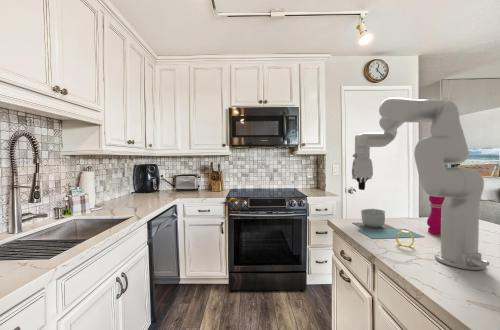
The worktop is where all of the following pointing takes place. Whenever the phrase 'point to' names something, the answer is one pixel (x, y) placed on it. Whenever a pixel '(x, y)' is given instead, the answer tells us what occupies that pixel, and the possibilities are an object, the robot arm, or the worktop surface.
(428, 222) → the pepper mill
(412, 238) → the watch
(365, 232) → the t mat
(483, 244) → the worktop surface
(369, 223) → the teacup
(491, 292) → the worktop surface
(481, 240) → the worktop surface
